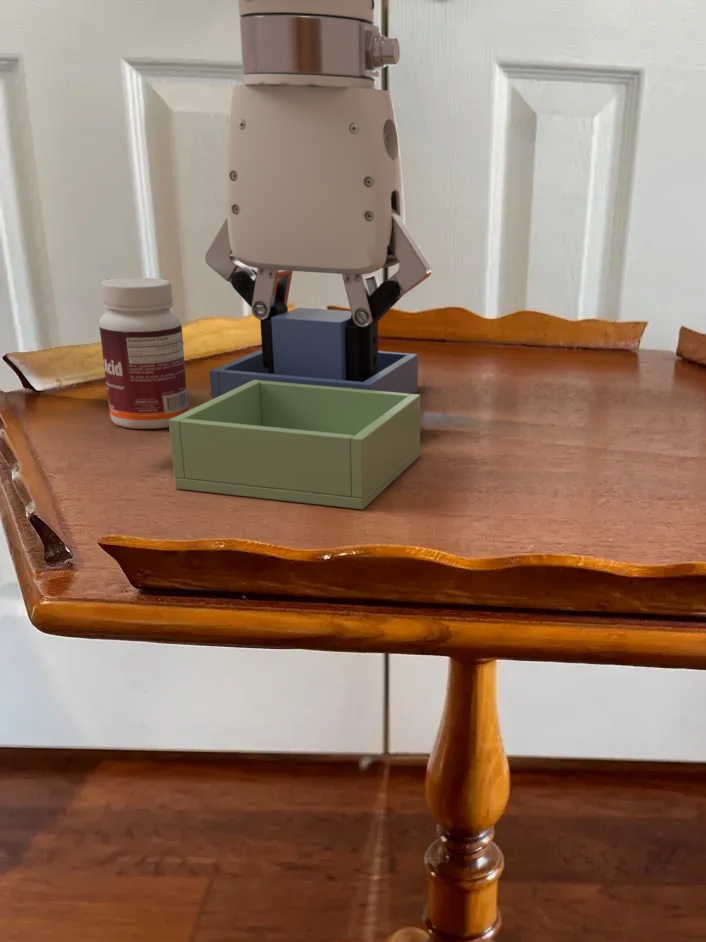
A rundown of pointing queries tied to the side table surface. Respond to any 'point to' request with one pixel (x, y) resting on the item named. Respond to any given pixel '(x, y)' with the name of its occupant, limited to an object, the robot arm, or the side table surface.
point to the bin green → (297, 443)
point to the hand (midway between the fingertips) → (321, 381)
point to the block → (310, 343)
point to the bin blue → (391, 377)
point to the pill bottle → (142, 353)
